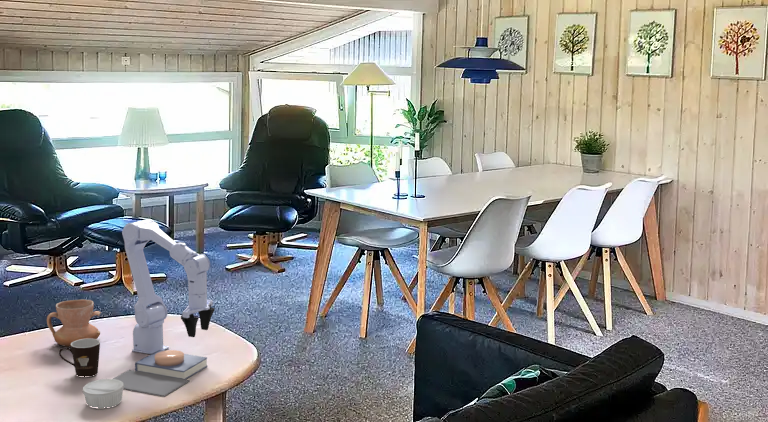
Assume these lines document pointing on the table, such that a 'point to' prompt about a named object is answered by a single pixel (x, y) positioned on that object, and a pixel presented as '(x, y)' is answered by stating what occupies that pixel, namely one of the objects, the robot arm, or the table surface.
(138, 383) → the placemat
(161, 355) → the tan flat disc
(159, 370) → the book
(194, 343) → the table surface
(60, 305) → the ceramic jug
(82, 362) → the coffee mug
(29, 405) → the table surface
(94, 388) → the ramekin
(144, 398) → the table surface
